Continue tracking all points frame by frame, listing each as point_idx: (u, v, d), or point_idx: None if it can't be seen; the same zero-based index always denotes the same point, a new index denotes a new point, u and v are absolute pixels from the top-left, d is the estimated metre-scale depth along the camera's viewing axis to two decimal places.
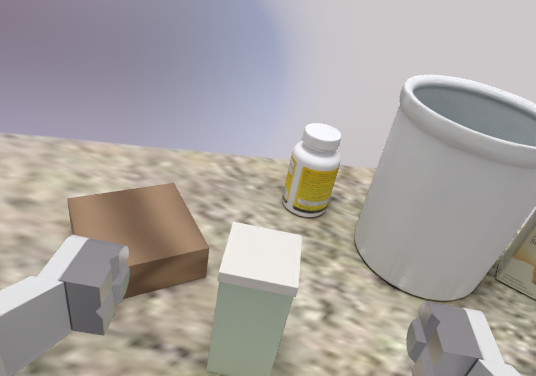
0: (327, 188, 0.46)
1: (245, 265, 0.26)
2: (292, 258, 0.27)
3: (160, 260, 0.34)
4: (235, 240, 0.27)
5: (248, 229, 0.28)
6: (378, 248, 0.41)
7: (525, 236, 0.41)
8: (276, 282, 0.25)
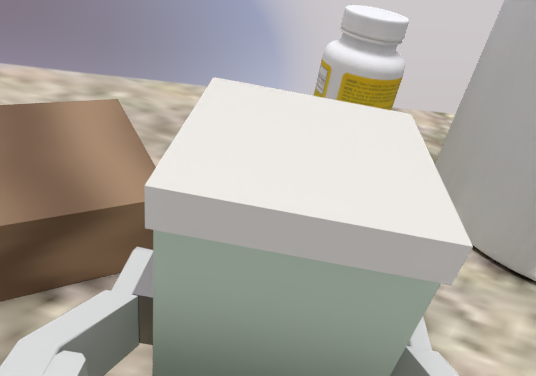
0: None
1: (252, 170, 0.07)
2: (408, 159, 0.08)
3: (60, 219, 0.16)
4: (216, 110, 0.08)
5: (257, 92, 0.10)
6: (492, 206, 0.22)
7: None
8: (381, 224, 0.06)
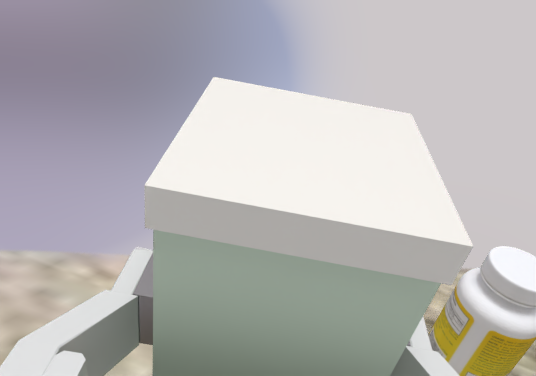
0: (521, 357, 0.27)
1: (253, 170, 0.07)
2: (409, 159, 0.08)
3: None
4: (216, 110, 0.08)
5: (258, 92, 0.10)
6: None
7: None
8: (381, 224, 0.06)
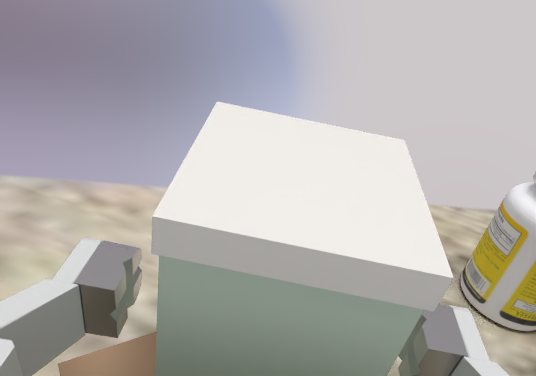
0: None
1: (252, 200, 0.07)
2: (399, 188, 0.09)
3: None
4: (219, 137, 0.09)
5: (258, 118, 0.10)
6: None
7: None
8: (370, 256, 0.07)
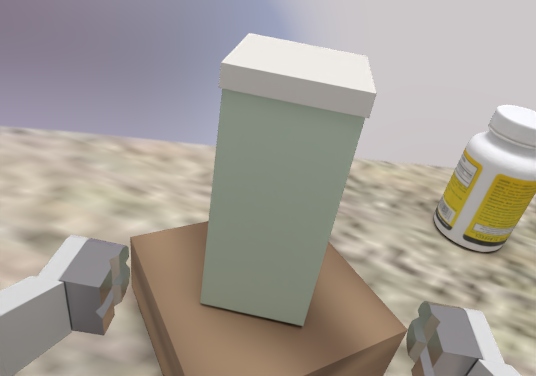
0: (525, 207, 0.29)
1: (272, 63, 0.14)
2: (356, 69, 0.15)
3: (333, 364, 0.17)
4: (252, 44, 0.15)
5: (275, 40, 0.16)
6: None
7: None
8: (333, 83, 0.13)
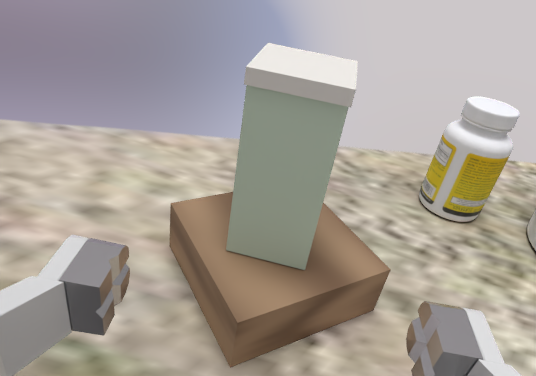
0: (494, 181, 0.35)
1: (282, 67, 0.19)
2: (346, 71, 0.20)
3: (333, 291, 0.23)
4: (269, 52, 0.21)
5: (287, 49, 0.22)
6: None
7: None
8: (325, 82, 0.18)
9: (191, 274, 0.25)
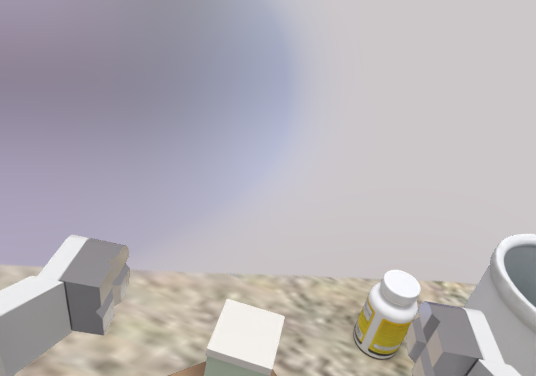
0: (404, 334, 0.46)
1: (230, 343, 0.30)
2: (272, 339, 0.31)
3: None
4: (225, 318, 0.32)
5: (239, 307, 0.33)
6: None
7: None
8: (254, 362, 0.29)
9: None
